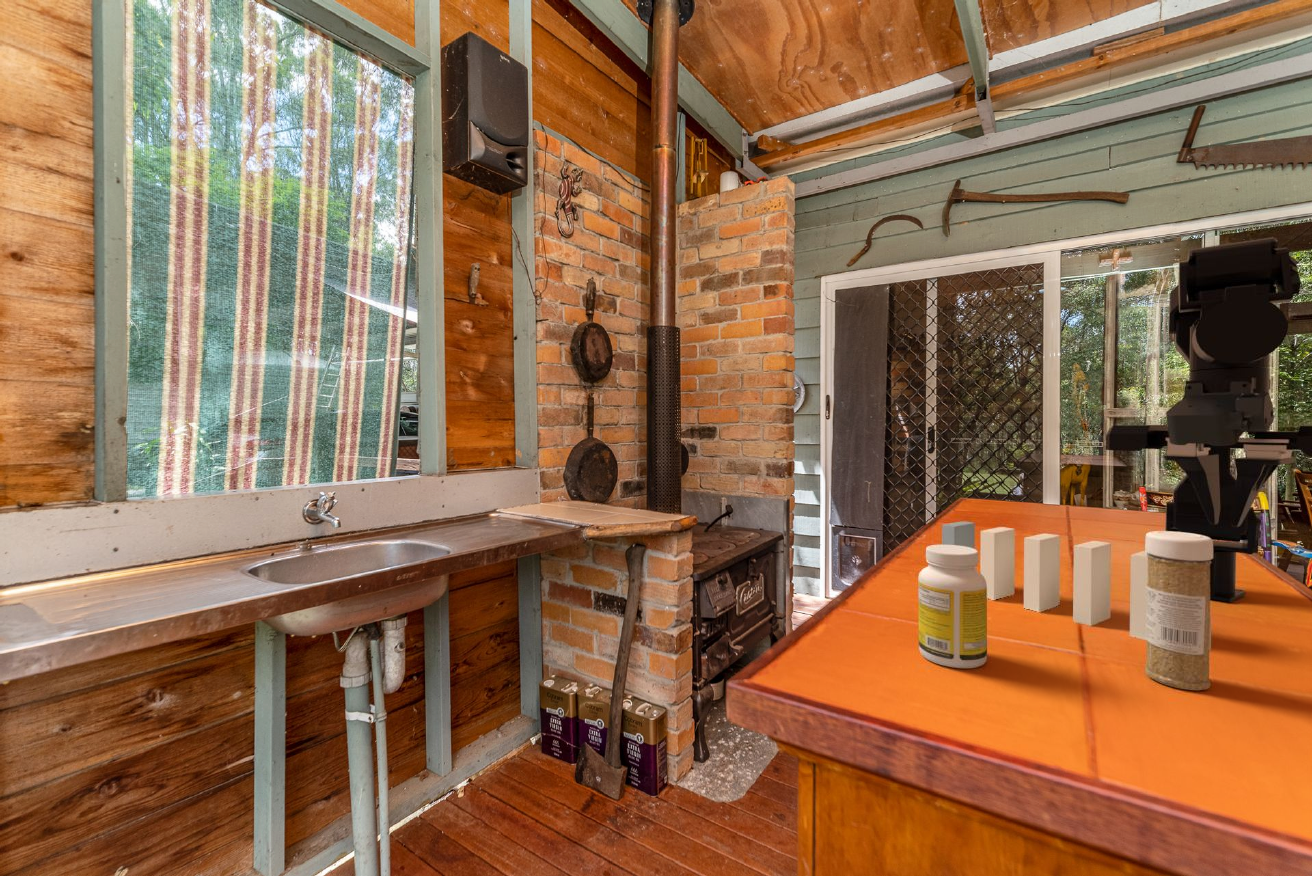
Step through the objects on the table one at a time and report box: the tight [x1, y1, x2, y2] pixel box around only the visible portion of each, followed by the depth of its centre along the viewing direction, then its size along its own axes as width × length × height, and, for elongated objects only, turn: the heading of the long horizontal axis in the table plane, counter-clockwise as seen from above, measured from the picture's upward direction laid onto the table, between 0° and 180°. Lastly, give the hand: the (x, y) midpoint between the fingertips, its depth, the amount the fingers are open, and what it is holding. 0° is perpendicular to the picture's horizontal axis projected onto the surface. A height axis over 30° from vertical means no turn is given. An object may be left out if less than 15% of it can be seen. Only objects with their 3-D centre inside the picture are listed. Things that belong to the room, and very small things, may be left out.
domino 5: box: [1129, 550, 1148, 641], centre depth 64 cm, size 2×5×9 cm, turn 121°
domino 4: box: [1072, 540, 1112, 627], centre depth 69 cm, size 2×5×9 cm, turn 121°
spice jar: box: [1144, 530, 1213, 691], centre depth 53 cm, size 5×5×13 cm
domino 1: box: [941, 520, 976, 549], centre depth 83 cm, size 2×5×9 cm, turn 121°
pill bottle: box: [917, 544, 988, 669], centre depth 59 cm, size 6×6×11 cm
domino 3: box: [1023, 532, 1061, 613], centre depth 74 cm, size 2×5×9 cm, turn 121°
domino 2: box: [979, 526, 1016, 601], centre depth 78 cm, size 2×5×9 cm, turn 121°
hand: (1224, 525), depth 59 cm, fingers closed
